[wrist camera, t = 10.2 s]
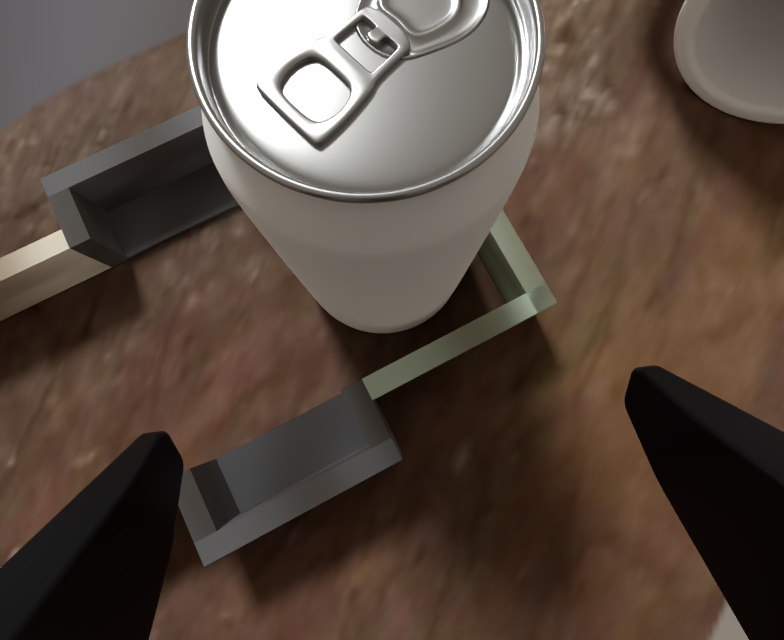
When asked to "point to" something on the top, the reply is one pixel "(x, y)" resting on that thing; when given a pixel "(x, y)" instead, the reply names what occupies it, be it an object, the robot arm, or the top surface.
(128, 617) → the robot arm
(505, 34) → the can
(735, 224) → the top surface
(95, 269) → the channel
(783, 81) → the mug
